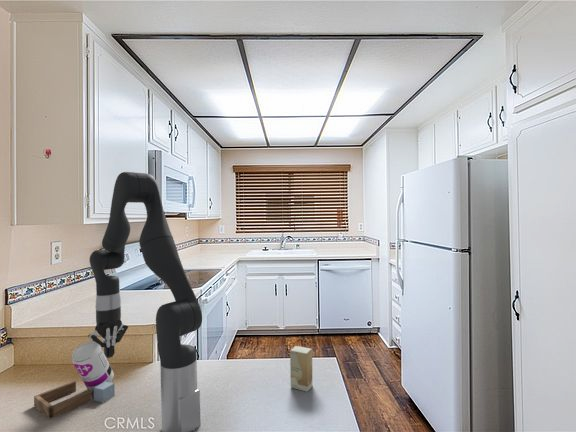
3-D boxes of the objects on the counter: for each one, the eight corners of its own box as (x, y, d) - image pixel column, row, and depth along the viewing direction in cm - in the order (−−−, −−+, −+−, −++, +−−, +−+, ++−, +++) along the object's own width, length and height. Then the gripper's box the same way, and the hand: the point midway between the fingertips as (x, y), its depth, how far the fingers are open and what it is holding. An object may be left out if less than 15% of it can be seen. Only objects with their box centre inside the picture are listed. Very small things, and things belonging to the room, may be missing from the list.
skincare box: (290, 388, 103) (288, 350, 103) (296, 381, 106) (294, 345, 107) (308, 392, 100) (307, 353, 100) (313, 385, 103) (312, 348, 104)
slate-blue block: (114, 395, 102) (114, 383, 102) (103, 402, 98) (103, 389, 98) (105, 393, 103) (105, 381, 103) (94, 400, 99) (93, 387, 99)
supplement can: (103, 394, 103) (86, 361, 96) (82, 391, 104) (63, 359, 98) (119, 372, 110) (104, 340, 103) (99, 370, 112) (83, 338, 105)
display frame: (91, 400, 99) (91, 390, 99) (49, 419, 90) (49, 408, 90) (74, 389, 106) (74, 380, 106) (34, 406, 97) (34, 396, 97)
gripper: (93, 313, 103) (94, 367, 102) (132, 303, 113) (133, 352, 113) (82, 310, 107) (83, 361, 106) (121, 301, 118) (122, 348, 117)
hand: (109, 356), depth 110 cm, fingers closed
